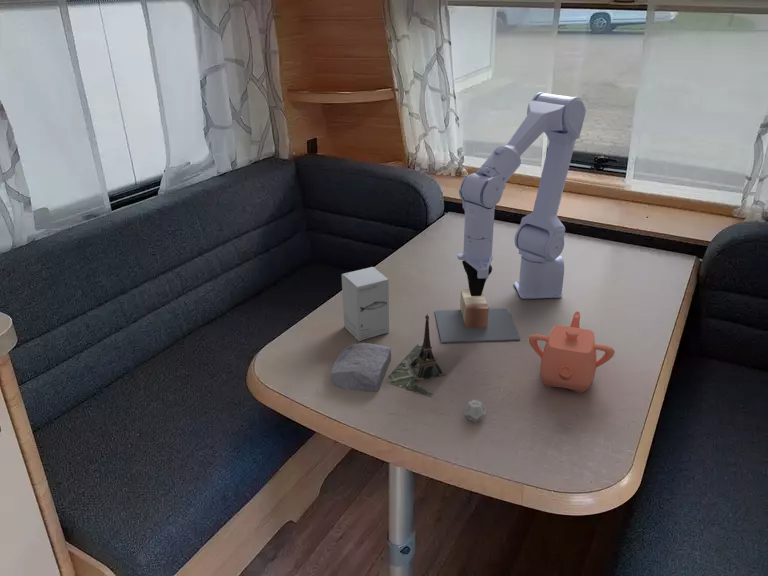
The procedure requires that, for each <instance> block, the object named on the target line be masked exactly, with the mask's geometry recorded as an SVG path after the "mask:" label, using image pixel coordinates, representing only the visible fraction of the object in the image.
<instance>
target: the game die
mask: <svg viewBox="0 0 768 576" xmlns="http://www.w3.org/2000/svg"><path fill="white" fill-rule="evenodd" d="M463 412H464V416H465V417H466V419H468V420H469V421H471V422H475V423H477V422H478V421H480V420H482V419H483V418H484V417H485V416H486V415H487V412H486V406H485V405H484V403H483V402H482V401H480V400H477V399H475V398H474V399H472V400H470V401H468V402H467V403H466V404H465V406H464V407H463Z"/></svg>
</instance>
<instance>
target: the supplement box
mask: <svg viewBox="0 0 768 576" xmlns="http://www.w3.org/2000/svg"><path fill="white" fill-rule="evenodd" d="M341 290H342V307H343V308H342V311H343V328H345V329H346V330H347V331H348V332H349V333H350V335H352V336H353V337H354V339H356V341H358V342H360V341H364V340H367V339H370V338H374V337H377V336H381V335H385V334H389V333H390V307H389V305H390V301H389V299H390V298H389V294H390V293H389V291H390V290H389V278H388V277H386V276H385V275H384V274H383V273H382V272H380V271H379V270H377V269H376V268H375V267H374V266H370V267H367V268H361V269H358V270H357V269H356V270H354V271H349V272H345V273H342V274H341Z"/></svg>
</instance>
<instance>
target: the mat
mask: <svg viewBox="0 0 768 576" xmlns="http://www.w3.org/2000/svg"><path fill="white" fill-rule="evenodd" d="M434 314H435V319H436V324H437V329H438V335H439V339H440V344H447V343H449V344H452V343H453V344H455V343H479V342H481V343H483V342H484V343H485V342H487V341H488V342H509V341H510V342H511V341H515V342H516V341H517V342H518V341H521V337H520V335H519V333H518V331H517V328H516V326H515V323H514V320H513V318H512V316H511V313H510V312H509V308H506V307H505V308H504V307H503V308H489V311H488V327H482V328H466V326H465V323H464V319H463V316H462V312H461V309H448V310H447V309H446V310H445V309H444V310H441V309H440V310H434Z"/></svg>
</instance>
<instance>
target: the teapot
mask: <svg viewBox="0 0 768 576" xmlns="http://www.w3.org/2000/svg"><path fill="white" fill-rule="evenodd" d="M580 318H581V313H580V312H579V311H575V312H574V313H573V316H572V320H571V323H570V326H569V325H568V326H566V325H559V324H556V325H554V326H553V327H552V329H551V331H550V333H549V335H544V334H538V333H537V334H536V333H535V334H534V333H533V334H530V335H529V336H528V343H529V345H530V347H531V348H532V349H533V351H534V353H536V355H538V357H540V367H539V369H540V373H539V374H540V377H541V380H542V383H544V385H545V386H546V387H548V388H555V387H558V388H563V389H568V390H573V391H574V392H576V393H580V394H582V393H585V391H587V390H588V389H589V387H590V386H591V383H592V382H593V380H594V378H595V374H596V369H597V368H599V367H601V366H602V365H604V364H605V363H607V362H608V361H610V360H611V359H612V358H613V357H614V355H615V353H616V352H615V349H614V348H613V347H612V346H609V345H605V344H601V343H600V344H599V343H596V340H595V334H594V331H593V330H592V329H591V330H590V329H586V328H580ZM538 341H543V342H546V343H544V347H543V350H542V349H541V348H540V346H539V344H538ZM597 350H598V351H603V352H604V354H603V356H602V357H601V358H599V359H598V360H597Z"/></svg>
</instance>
